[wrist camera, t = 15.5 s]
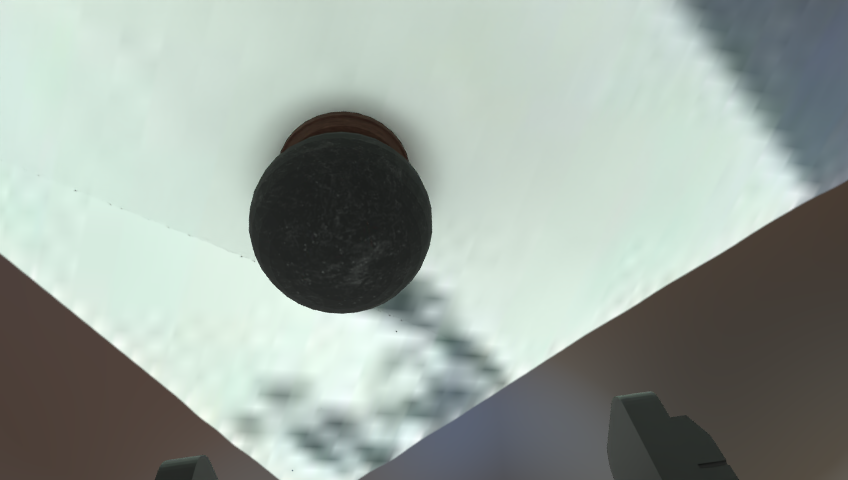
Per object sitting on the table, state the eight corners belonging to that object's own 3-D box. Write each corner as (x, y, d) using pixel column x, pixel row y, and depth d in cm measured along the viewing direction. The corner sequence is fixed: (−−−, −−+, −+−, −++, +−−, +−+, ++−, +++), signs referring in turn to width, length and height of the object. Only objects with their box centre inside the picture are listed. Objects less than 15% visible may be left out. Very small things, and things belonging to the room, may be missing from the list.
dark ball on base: (438, 119, 48) (468, 202, 35) (401, 251, 54) (415, 363, 41) (276, 82, 45) (244, 159, 32) (256, 227, 51) (223, 338, 39)
